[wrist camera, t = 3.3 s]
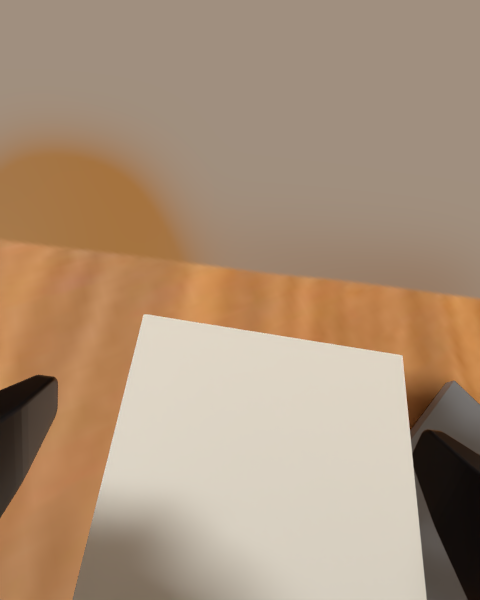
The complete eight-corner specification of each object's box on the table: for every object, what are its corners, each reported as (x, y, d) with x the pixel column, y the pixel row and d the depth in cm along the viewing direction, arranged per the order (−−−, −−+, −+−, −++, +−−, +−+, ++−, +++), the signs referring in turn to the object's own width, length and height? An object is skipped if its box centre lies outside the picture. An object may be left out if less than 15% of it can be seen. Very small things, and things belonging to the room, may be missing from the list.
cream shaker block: (268, 549, 13) (438, 718, 5) (135, 536, 13) (46, 701, 4) (277, 412, 15) (402, 355, 7) (163, 397, 15) (143, 313, 6)
